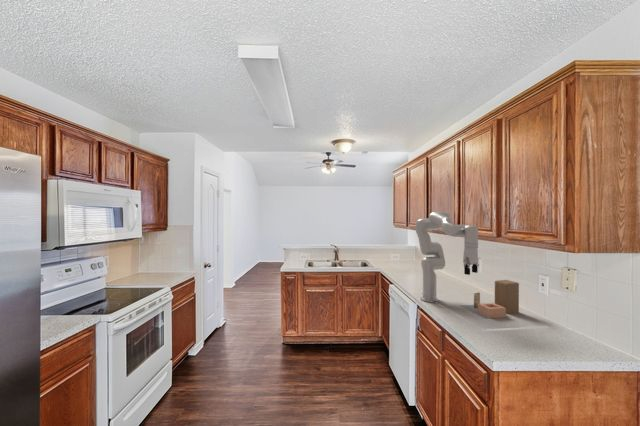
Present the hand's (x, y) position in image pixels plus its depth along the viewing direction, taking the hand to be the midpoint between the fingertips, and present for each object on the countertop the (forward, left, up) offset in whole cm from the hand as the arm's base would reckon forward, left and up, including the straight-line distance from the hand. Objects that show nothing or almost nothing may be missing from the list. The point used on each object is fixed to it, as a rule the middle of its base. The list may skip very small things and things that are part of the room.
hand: (471, 273), depth 188 cm
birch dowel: (-14, +14, -26) cm, 33 cm away
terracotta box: (0, +14, -26) cm, 29 cm away
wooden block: (-5, +29, -27) cm, 40 cm away
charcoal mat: (-7, +14, -27) cm, 31 cm away
